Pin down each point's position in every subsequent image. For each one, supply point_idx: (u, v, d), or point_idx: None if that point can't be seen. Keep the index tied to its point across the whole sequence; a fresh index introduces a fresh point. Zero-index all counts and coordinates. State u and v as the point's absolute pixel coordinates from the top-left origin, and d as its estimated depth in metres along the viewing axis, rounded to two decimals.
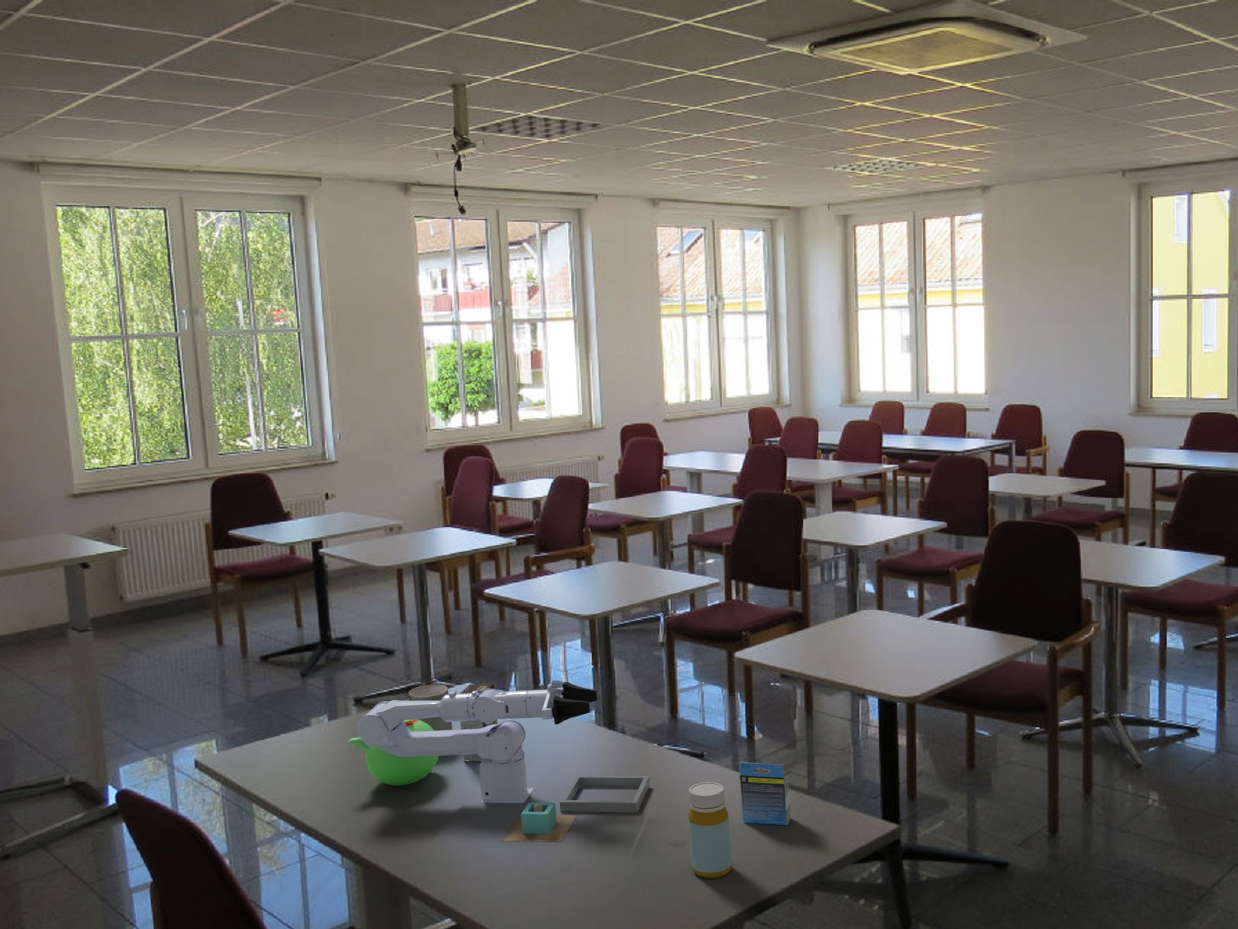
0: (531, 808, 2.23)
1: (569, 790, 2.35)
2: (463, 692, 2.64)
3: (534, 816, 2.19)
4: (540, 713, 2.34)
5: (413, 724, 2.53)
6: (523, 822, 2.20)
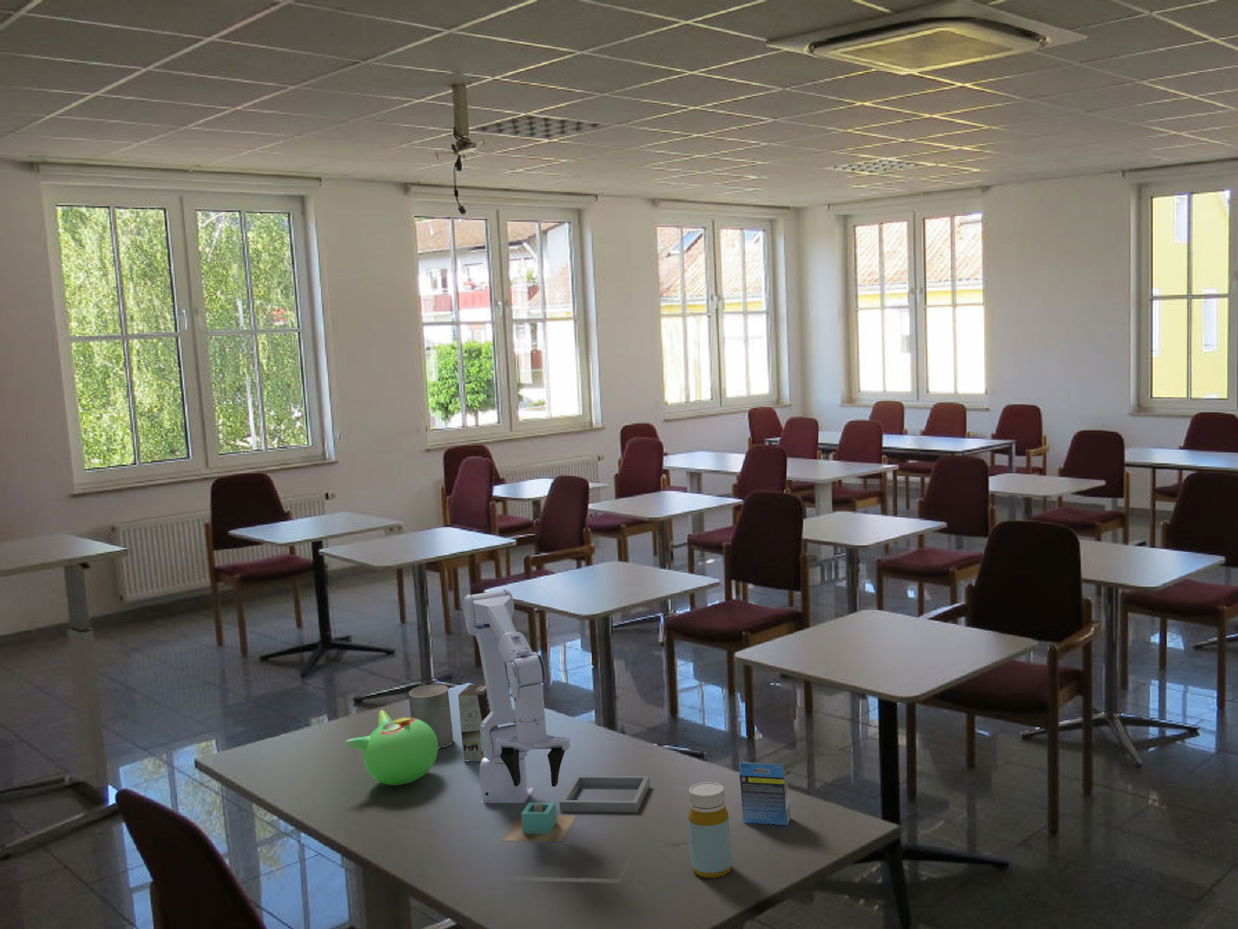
0: (531, 808, 2.23)
1: (569, 790, 2.35)
2: (463, 692, 2.64)
3: (534, 816, 2.19)
4: None
5: (409, 724, 2.52)
6: (523, 822, 2.20)
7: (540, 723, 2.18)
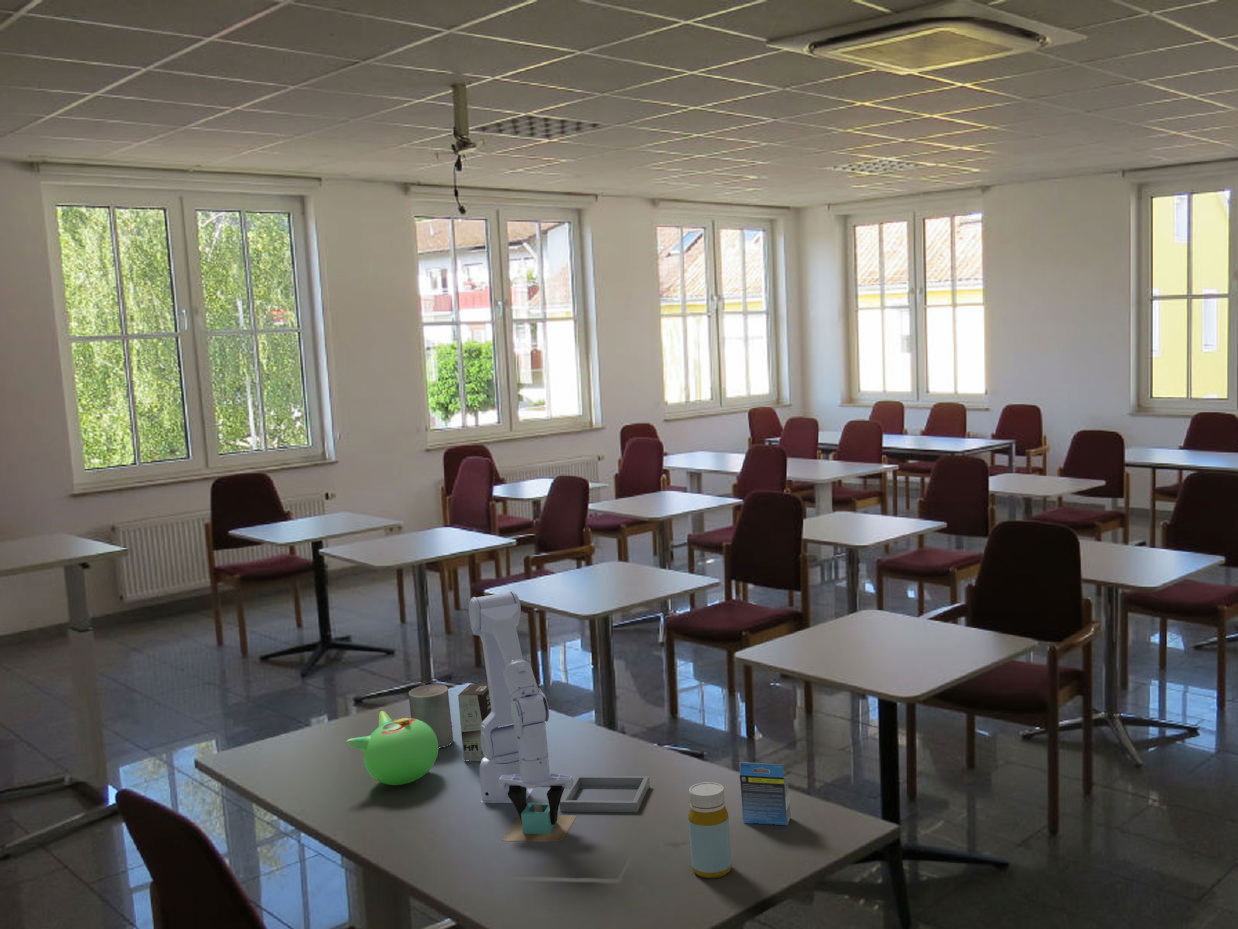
0: (531, 808, 2.23)
1: (569, 790, 2.35)
2: (463, 692, 2.64)
3: (534, 816, 2.19)
4: None
5: (410, 724, 2.52)
6: (523, 822, 2.20)
7: (543, 762, 2.19)
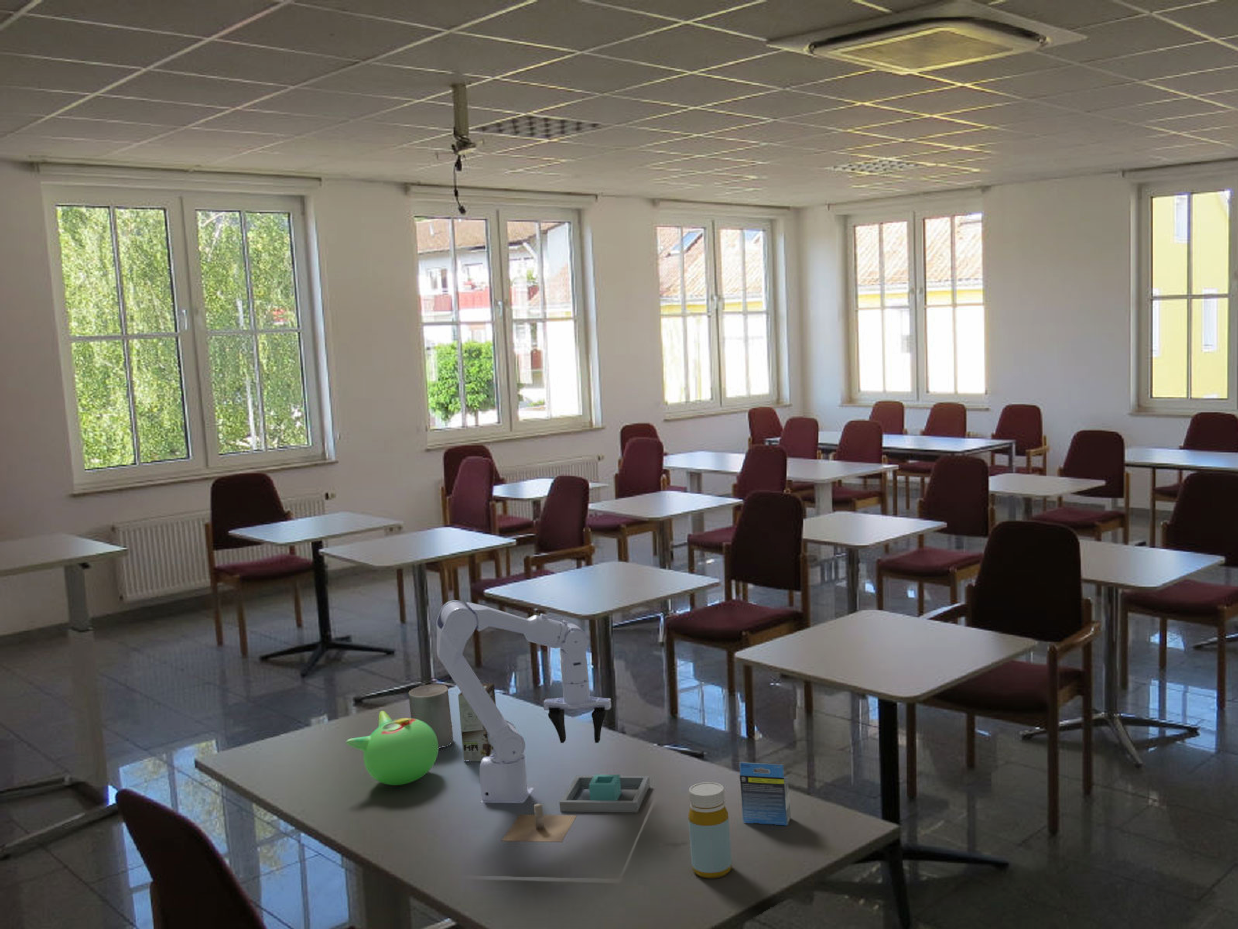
0: (597, 780, 2.36)
1: (569, 790, 2.35)
2: None
3: (601, 787, 2.32)
4: None
5: (410, 724, 2.52)
6: (590, 792, 2.32)
7: (584, 685, 2.41)
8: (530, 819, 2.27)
